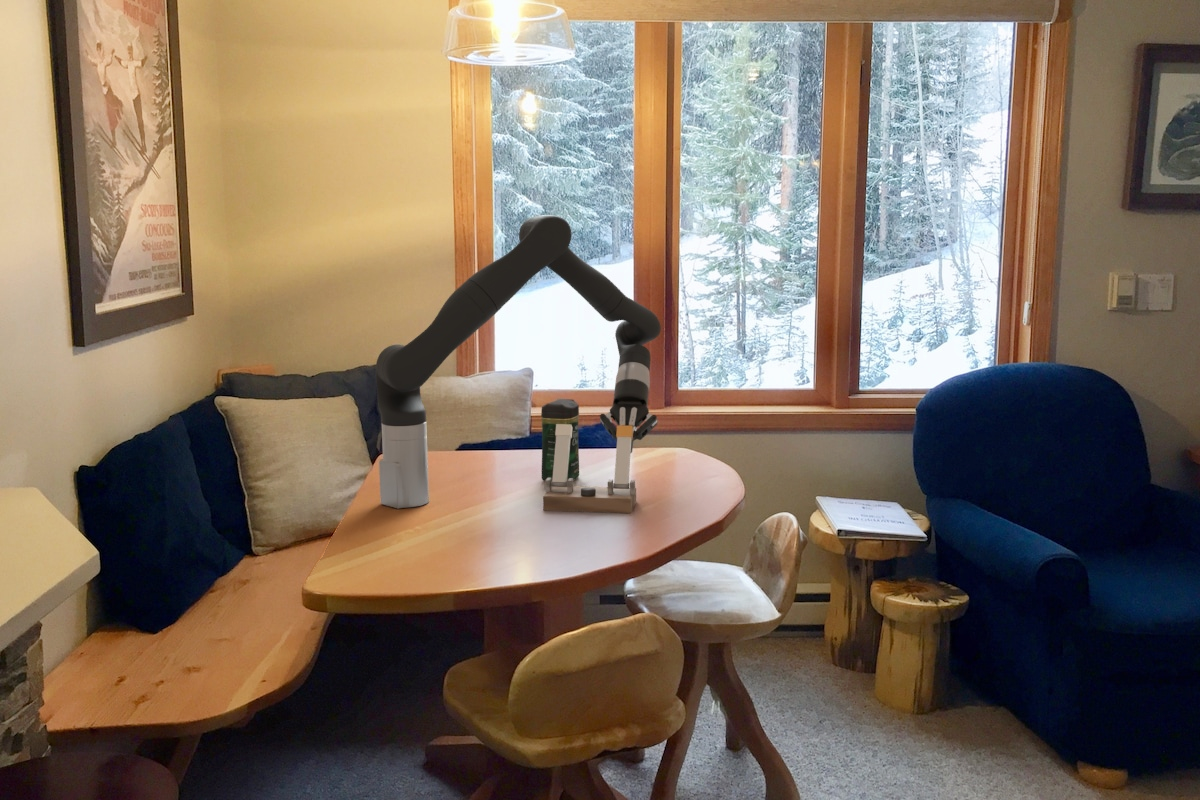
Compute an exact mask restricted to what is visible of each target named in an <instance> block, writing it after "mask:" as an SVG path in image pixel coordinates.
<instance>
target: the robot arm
mask: <svg viewBox="0 0 1200 800" xmlns="http://www.w3.org/2000/svg"><path fill="white" fill-rule="evenodd" d="M518 233H519V234H518V238H519V239H518V240H519V243H517V245H515V246H514V247H513V248H512V249H511V250H509V252H508V253H505V254H504V255H503V256H501V257H499V258H498V259H497V260H494V261H493V262H491V263H490V264H487V265H486V266H484V267H482V268H481V269H479V270H478V271H476V272H475V273H474V274H473V275H471V276H469V277H468V279H466V280H465V281H464V282H463V283H462V284H461V285H460V286H459V287H457V289H455V290H454V292H452V293H451V294H450V295H449V297H448V298H447V299H446V301H445V302H444V304H442V307H441V308H440V310H439V311H438V313H437V315H435V318H434V320H433V321H432V322H431V323H430V325H429V326H428V327H427V328H425V330H423V331H422V332H421V333H420V334H418V336H416V337H415V338H414V339H413V340H411V341H409V342H408V343H407V344H405V345H404V344H391V345H388V346H387V347H385V348H384V349H383V350H382V351H380V353H379V355H378V357H377V359H376V364H375V381H376V385H375V386H376V397H377V405H378V410H379V413H380V421H381V440H382V442H381V444H382V459H379V460H378V468H379V469H378V470H379V473H378V474H379V494H380V495H379V497H380V505H384V506H387V507H391V508H395V509H403V508H415V507H420V506H423V505H426V504H428V503H429V502H430V493H429V492H430V490H429V489H430V487H429V486H430V485H429V467H428V465H429V462H428V437H427V436H428V433H427V410H426V408H425V405H424V403H423V400H422V396H421V395H422V394H421V387H423V385H425V383H426V382H427V381H428V380H429V379H430V378H431V376H432V375H433V374H434V373H435V372H436V371H437V369H438V368H440V366H441V365H442V363H444V362H445V360H446V359H447V358H448V357H449V356H450V355H451V354H452V353H453V352H454V351H455V350H456V349H458V348H459V347H460V346H461V345H462V344H463V343H465V342H466V341H467V340H468V339H470V337H471V336H472V335H473V334H475V332H477V331H478V330H479V329H480V328H481V327H483V326H484V325H486V323H487V322H489V320H490V319H491V318H493V317H494V316H495V315H496V313H498V312H499V311H500V310H501V309H502V308H503V307H504V306H505V305H506V304H507V303H508V302H509V301H510V300H511V299H512V298H513V297H514V296H515V295H516V294H518V292H519V291H520V290H521V289H522V288H523V287H524V286H525V285H526V284H527V283H528V282H529V281H530V280H531V279H532V278H533V277H534V276H535V275H537V274H538V273H539V272H541V271H542V270H543V269H544V268H546V267H547V268H548V269H550V270H551V271H552V272H554V273H555V274H556V275H557V276H559V277H560V278H561V279H562V280H563V281H565V282H566V283H567V284H568V285H569V286H570V287H571V288H572V289H574V290H575V291H576V293H578V294H579V295H580V296H581V297H582V298H583V299H584V300H585V301H586V302H587V303H588V304H589V305H590V306H591V307H592V308H593V309H594V310H595V311H596V312H597V313H598V314H599V315H600V316H601V317H602V318H603V319H605V321H607V322H609V323H610V322H611V323H612V322H613V323H614V322H617V321H620V322H619V324H618V325H617V327H616V330H615V341H616V345H617V349H618V355H619V356H618V357H619V359H618V361H619V362H618V367H617V369H618V370H617V372H616V376H615V385H614V391H613V392H614V393H613V400H612V402H613V403H612V406H611V407H610V408H609V412H607V413H601V414H600V415H599V420H600V423H601V425H602V427H604V429H605V430H606V431H607V432H608V435H610V437H612V438H613V440H617V437H616V433H617V427H615V425H614V424H613V423H612V419H613V421H614V422H615V423H616V424H617V425H622V426H632V427H633V440H631V454H632V453H633V447H634V441H635V440H638V441H641V440H643V439H644V438H645V437H646V436H647V435H648V434H649V433H650V432H651V431H652V430H653V429H654V428H655V427H657V425H658V419H657V418H658V416H657V415H656V414H651V413H650V410H649V408H648V405H649V393H650V389H651V388H650V385H651V383H650V381H651V379H650V370H651V352H650V350H649V349H648V348H647V347H646V346H644V345H645V344H647V343H650V342H652V341H653V340H655V339H657V338H658V337H659V336H660V333H661V331H662V327H661V321H660V320H659V318H658V317H657V315H656V314H655V313H654V312H653V311H652V310H650V309H648V308H647V307H646V306H644V305H642V304H640V303H638V302H637V301H636V300H633V299H631V298H630V297H628V296H626V295H625V293H623V291H622V290H620V288H618V287H617V286H616V284H614V282H613V281H611V280H610V279H609V278H608V277H607V276H605V275H604V274H603V272H600V271H599V270H597V269H596V268H595V267H593V266H592V265H590V264H588V263H587V262H585V261H584V260H583V259H582V258H580V257H579V256H578V255H577V254H576V253H575V252H574V251H573V250H572V249H571V248H570V247H569V246H570V245H571V241H572V229H571V226H570V224H569V223H568V222H567V220H565V219H564V218H563V217H560V216H557V215H553V214H545V215H543V214H542V215H541V214H540V215H535V216H532V217H529V218H527V219H526V220H524V222H522V224H521V226H520V228H519V232H518ZM617 425H616V426H617Z"/></svg>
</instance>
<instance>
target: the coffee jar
mask: <svg viewBox="0 0 1200 800" xmlns="http://www.w3.org/2000/svg"><path fill="white" fill-rule="evenodd" d="M579 408H580V407H579V403H578V402H576V401H575V399H572V398H571V399H570V398H557V399H555V400H553V401H551V402H549V403H546V404H544V405H543V406H541V413H540V415H541V416H540V419H541V420H540V421H541V432H542V433H541V480H542V481H543V482H545V480H546V479H547V478H551V482H552V478H553V467H554V456H555V444H556V435H555V432H556V424H571V425H572V427H573V429H572V438H571V440H570V451H569V463H568V475H567V481H568V479H569V478H573V481H575V480H576V479H578V477H579V476H580V454H579V451H580V450H579V421H580V409H579Z"/></svg>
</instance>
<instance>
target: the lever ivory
mask: <svg viewBox="0 0 1200 800" xmlns="http://www.w3.org/2000/svg"><path fill="white" fill-rule="evenodd" d="M572 429H573V427H572V425H571V424H556V432H555V435H556V444H555V456H554V467H553V478H552V482H551V486H552V487H567V475H568V463H569V451H570V440H571V438H572Z"/></svg>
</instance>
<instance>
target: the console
mask: <svg viewBox="0 0 1200 800" xmlns="http://www.w3.org/2000/svg"><path fill="white" fill-rule="evenodd" d="M544 483H545V484H544V486H545V487H544V488H545V490H544V491H545V494H543V496H542V497H543V498H542V502H543V503H542V504H543V507H542V508H543V511H548V510H551V511H552V512H553V511H554V512H559V511H560V512H578V511H584V512H585V513H608V512H610V513H614V514H617V513H618V514H632V511H633V509H634V507H635V505H636V503H637V488H636V480H635V479H631V480H630V481H629V489H613V483H614V479H611V478H610V479H608V481H607V486H584V485H583V486H582V485H580V486H578V485H577V486H576V485H574V480H573V478H569V479H568V481H567V487H552V486H551V478H547V479H546V480H545V481H544ZM551 511H550V512H551ZM584 512H583V513H584ZM610 513H609V514H610Z"/></svg>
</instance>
